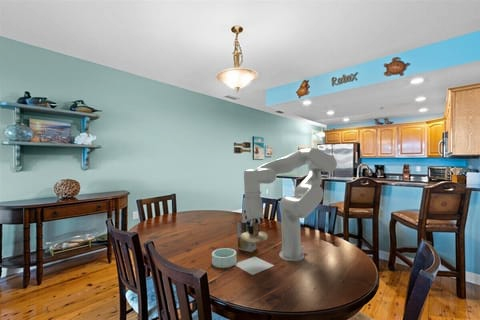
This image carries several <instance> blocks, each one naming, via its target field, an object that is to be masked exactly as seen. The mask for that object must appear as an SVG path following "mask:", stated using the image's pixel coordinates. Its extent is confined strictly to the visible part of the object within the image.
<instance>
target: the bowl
mask: <svg viewBox="0 0 480 320" xmlns="http://www.w3.org/2000/svg"><path fill="white" fill-rule="evenodd" d="M236 263H238V262H237V251H236V250H235V249H233V248H228V247H227V248H226V247H225V248H224V247H223V248H222V247H221V248H217V249H214V250H213V251H212V252H211V265H212V266H214V267H216V268H220V269H221V268H222V269H223V268H224V269H225V268H231V267H232V266H233V267H234V266H236V265H235V264H236Z"/></svg>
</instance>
